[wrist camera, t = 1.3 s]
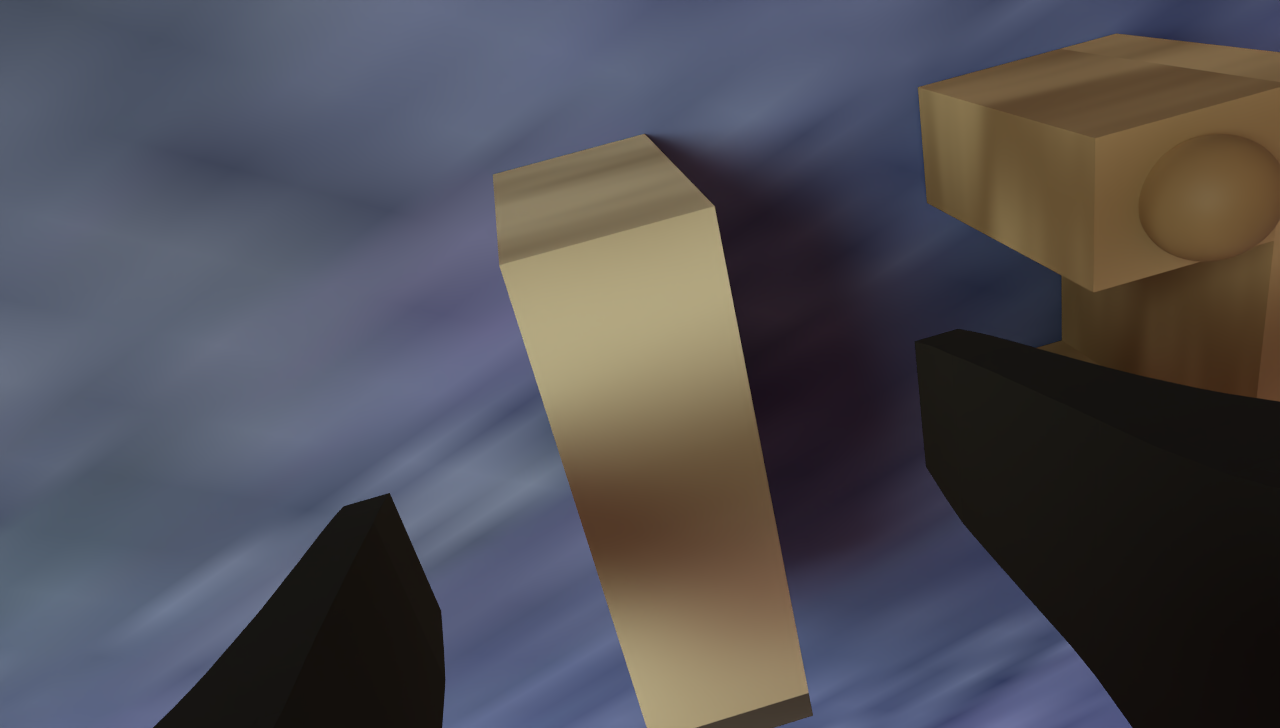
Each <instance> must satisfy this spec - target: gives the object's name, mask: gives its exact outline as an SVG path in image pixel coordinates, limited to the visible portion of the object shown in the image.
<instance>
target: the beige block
mask: <svg viewBox="0 0 1280 728" xmlns="http://www.w3.org/2000/svg"><path fill="white" fill-rule="evenodd" d="M493 183H494V197H495V211H496V225H497V239H498V253H499V266H500V269H501V272H502V275H503V278H504V281H505V284H506V287H507V291H508V294H509V297H510V300H511V303H512V306H513V309H514V313H515V316H516V319H517V322H518V325H519V328H520V331H521V334H522V338H523V341H524V344H525V347H526V350H527V353H528V356H529V360H530V363H531V366H532V369H533V372H534V375H535V378H536V381H537V385H538V388H539V391H540V394H541V397H542V400H543V403H544V407H545V410H546V413H547V416H548V419H549V422H550V425H551V428H552V432H553V435H554V438H555V441H556V444H557V447H558V450H559V454H560V457H561V460H562V463H563V466H564V469H565V472H566V475H567V479H568V482H569V485H570V488H571V491H572V494H573V497H574V501H575V504H576V507H577V510H578V513H579V516H580V519H581V522H582V526H583V529H584V532H585V535H586V538H587V541H588V544H589V548H590V551H591V554H592V557H593V560H594V563H595V566H596V569H597V573H598V576H599V579H600V582H601V585H602V588H603V591H604V595H605V598H606V601H607V604H608V607H609V610H610V613H611V616H612V620H613V623H614V626H615V629H616V632H617V635H618V638H619V642H620V645H621V648H622V651H623V654H624V657H625V660H626V663H627V667H628V670H629V673H630V676H631V679H632V682H633V685H634V689H635V692H636V695H637V698H638V701H639V704H640V707H641V710H642V714H643V717H644V720H645V723H646V726H647V728H774V727H777V726H781V725H784V724H787V723H790V722H794V721H797V720H800V719H803V718H807V717H810V716H813V713H812V708H811V703H810V698H809V693H808V688H807V682H806V677H805V672H804V667H803V662H802V656H801V651H800V646H799V641H798V636H797V631H796V625H795V620H794V615H793V610H792V605H791V599H790V594H789V589H788V584H787V579H786V574H785V568H784V563H783V558H782V553H781V548H780V542H779V537H778V532H777V527H776V522H775V517H774V511H773V506H772V501H771V496H770V491H769V485H768V480H767V475H766V470H765V465H764V460H763V454H762V449H761V444H760V439H759V434H758V429H757V423H756V418H755V413H754V408H753V403H752V397H751V392H750V387H749V382H748V377H747V372H746V366H745V361H744V356H743V351H742V346H741V340H740V335H739V330H738V325H737V320H736V315H735V309H734V304H733V299H732V294H731V289H730V283H729V278H728V273H727V268H726V263H725V258H724V252H723V247H722V242H721V237H720V232H719V226H718V221H717V216H716V211H715V206H714V205H713V204H712V203H711V202H710V201H709V200H708V199H707V198H706V197H705V196H704V195H703V194H702V193H701V192H700V191H699V190H698V188H697V187H696V186H695V185H694V184H693V183H692V182H691V181H690V180H689V179H688V178H687V177H686V176H685V175H684V174H683V173H682V172H681V171H680V170H679V169H678V168H677V167H676V166H675V165H674V164H673V163H672V162H671V161H670V160H669V159H668V158H667V157H666V155H665V154H664V153H663V152H662V151H661V150H660V149H659V148H658V147H657V146H656V145H655V144H654V143H653V142H652V141H651V140H650V139H649V138H648V137H647V136H646V135H645V134H642V135H638V136H635V137H631V138H627V139H624V140H620V141H616V142H612V143H609V144H605V145H601V146H598V147H594V148H590V149H586V150H583V151H579V152H575V153H571V154H568V155H564V156H560V157H557V158H553V159H549V160H545V161H542V162H538V163H534V164H531V165H527V166H523V167H519V168H516V169H512V170H508V171H505V172H501V173H497V174H493Z"/></svg>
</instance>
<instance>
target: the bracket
mask: <svg viewBox="0 0 1280 728" xmlns="http://www.w3.org/2000/svg"><path fill="white" fill-rule="evenodd" d="M918 93H919V106H920V119H921V131H922V144H923V157H924V170H925V183H926V196H927V203H928V204H930V205H932V206H934V207H936V208H938V209H939V210H941V211H943V212H945V213H947V214H949V215H951V216H952V217H954V218H956V219H958V220H960V221H962V222H964V223H965V224H967V225H969V226H971V227H973V228H975V229H977V230H978V231H980V232H982V233H984V234H986V235H988V236H989V237H991V238H993V239H995V240H997V241H999V242H1001V243H1002V244H1004V245H1006V246H1008V247H1010V248H1012V249H1014V250H1015V251H1017V252H1019V253H1021V254H1023V255H1025V256H1027V257H1028V258H1030V259H1032V260H1034V261H1036V262H1038V263H1040V264H1041V265H1043V266H1045V267H1047V268H1049V269H1051V270H1053V271H1054V272H1056V273H1058V274H1060V275H1061V277H1062V341H1058V342H1055V343H1051V344H1048V345H1044V346H1041V347H1037V348H1038V349H1042V350H1045V351H1049V352H1052V353H1056V354H1060V355H1063V356H1067V357H1070V358H1074V359H1078V360H1082V361H1085V362H1089V363H1093V364H1097V365H1100V366H1104V367H1108V368H1112V369H1116V370H1120V371H1124V372H1128V373H1132V374H1136V375H1140V376H1145V377H1150V378H1154V379H1159V380H1163V381H1168V382H1172V383H1177V384H1181V385H1186V386H1191V387H1195V388H1200V389H1206V390H1211V391H1217V392H1222V393H1228V394H1234V395H1241V396H1247V397H1254V398H1260V399H1267V400H1273V401H1280V52H1272V51H1263V50H1255V49H1246V48H1237V47H1228V46H1220V45H1211V44H1202V43H1193V42H1185V41H1176V40H1167V39H1158V38H1150V37H1141V36H1132V35H1123V34H1113V35H1110V36H1106V37H1102V38H1098V39H1095V40H1091V41H1087V42H1084V43H1080V44H1076V45H1073V46H1069V47H1065V48H1061V49H1058V50H1054V51H1050V52H1047V53H1043V54H1039V55H1036V56H1032V57H1028V58H1025V59H1021V60H1017V61H1013V62H1010V63H1006V64H1002V65H999V66H995V67H991V68H988V69H984V70H980V71H976V72H973V73H969V74H965V75H962V76H958V77H954V78H951V79H947V80H943V81H939V82H936V83H932V84H928V85H925V86H921V87H918Z"/></svg>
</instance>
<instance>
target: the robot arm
mask: <svg viewBox="0 0 1280 728" xmlns="http://www.w3.org/2000/svg"><path fill="white" fill-rule="evenodd" d="M915 350H916V361H917V373H918V384H919V395H920V406H921V417H922V428H923V439H924V450H925V461H926V467H927V469H928V471H929V472H930V474H931V475H932V477H933V478H934V480H935V482H936V483H937V485H938V486H939V488H940V489H941V491H942V493H943V494H944V496H945V497H946V499H947V500H948V502H949V503H950V505H951V506H952V508H953V509H954V511H955V512H956V514H957V515H958V517H959V518H960V519H961V521H962V522H963V524H964V525H965V526H966V527H967V528H968V530H969V531H970V532H971V533H972V534H973V536H974V537H975V538H976V539H977V540H978V541H979V542H980V544H981V545H982V546H983V547H984V548H985V549H986V550H987V552H988V553H989V554H990V555H991V556H992V557H993V558H994V560H995V561H996V562H997V563H998V564H999V565H1000V566H1001V568H1002V569H1003V570H1004V571H1005V572H1006V573H1007V574H1008V575H1009V577H1010V578H1011V579H1012V580H1013V581H1014V582H1015V583H1016V584H1017V586H1018V587H1019V588H1020V589H1021V590H1022V591H1023V592H1024V593H1025V595H1026V596H1027V597H1028V598H1029V599H1030V600H1031V601H1032V602H1033V604H1034V605H1035V606H1036V607H1037V608H1038V609H1039V610H1040V611H1041V613H1042V614H1043V615H1044V616H1045V617H1046V618H1047V619H1048V620H1049V622H1050V623H1051V624H1052V625H1053V626H1054V627H1055V628H1056V629H1057V630H1058V632H1059V633H1060V634H1061V635H1062V636H1063V637H1064V638H1065V639H1066V641H1067V642H1068V643H1069V644H1070V645H1071V646H1072V648H1073V649H1074V650H1075V651H1076V652H1077V654H1078V655H1079V656H1080V657H1081V659H1082V660H1083V661H1084V662H1085V664H1086V665H1087V666H1088V667H1089V668H1090V670H1091V671H1092V672H1093V673H1094V675H1095V676H1096V677H1097V679H1098V680H1099V681H1100V683H1101V684H1102V686H1103V687H1104V688H1105V690H1106V691H1107V693H1108V694H1109V695H1110V697H1111V698H1112V700H1113V701H1114V702H1115V704H1116V705H1117V707H1118V708H1119V709H1120V711H1121V712H1122V713H1123V715H1124V716H1125V718H1126V719H1127V720H1128V722H1129V723H1130V725H1131V726H1132V727H1133V728H1280V401H1273V400H1267V399H1260V398H1254V397H1247V396H1241V395H1234V394H1228V393H1222V392H1217V391H1211V390H1206V389H1200V388H1195V387H1191V386H1186V385H1181V384H1177V383H1172V382H1168V381H1163V380H1159V379H1154V378H1150V377H1145V376H1140V375H1136V374H1132V373H1128V372H1124V371H1120V370H1116V369H1112V368H1108V367H1104V366H1100V365H1097V364H1093V363H1089V362H1085V361H1082V360H1078V359H1074V358H1070V357H1067V356H1063V355H1060V354H1056V353H1052V352H1049V351H1045V350H1042V349H1038V348H1034V347H1031V346H1027V345H1024V344H1020V343H1016V342H1013V341H1009V340H1005V339H1001V338H998V337H994V336H990V335H986V334H981V333H977V332H972V331H967V330H961V329H956V330H953V331H949V332H946V333H942V334H939V335H935V336H932V337H928V338H925V339H921V340H918V341H915ZM444 693H445V663H444V645H443V631H442V617H441V610H440V607H439V605H438V603H437V600H436V598H435V596H434V594H433V591H432V589H431V587H430V584H429V582H428V580H427V578H426V575H425V573H424V571H423V568H422V566H421V564H420V562H419V559H418V557H417V555H416V552H415V550H414V548H413V546H412V543H411V541H410V539H409V536H408V534H407V532H406V530H405V527H404V525H403V523H402V520H401V518H400V516H399V513H398V511H397V509H396V507H395V504H394V502H393V500H392V497H391V495H390V493H388V494H385V495H381V496H378V497H374V498H371V499H367V500H364V501H360V502H357V503H354V504H350V505H347V506H344V507H343V508H342V509H341V510H340V511H339V512H338V513H337V514H336V515H335V516H334V518H333V519H332V520H331V521H330V522H329V524H328V525H327V526H326V527H325V529H324V530H323V531H322V532H321V534H320V535H319V536H318V538H317V539H316V540H315V541H314V543H313V544H312V545H311V547H310V548H309V549H308V550H307V552H306V553H305V554H304V556H303V557H302V558H301V560H300V561H299V562H298V563H297V565H296V566H295V567H294V569H293V570H292V571H291V572H290V574H289V575H288V576H287V577H286V579H285V580H284V581H283V582H282V584H281V585H280V586H279V588H278V589H277V590H276V591H275V593H274V594H273V595H272V596H271V598H270V599H269V600H268V601H267V603H266V604H265V605H264V607H263V608H262V609H261V610H260V611H259V613H258V614H257V615H256V616H255V617H254V619H253V620H252V621H251V622H250V623H249V624H248V625H247V627H246V628H245V629H244V630H243V631H242V632H241V634H240V635H239V636H238V637H237V638H236V639H235V641H234V642H233V643H232V644H231V645H230V646H229V647H228V649H227V650H226V651H225V652H224V653H223V654H222V656H221V657H220V658H219V659H218V660H217V661H216V662H215V664H214V665H213V666H212V667H211V668H210V669H209V671H208V672H207V673H206V674H205V675H204V676H203V677H202V678H201V679H200V680H199V682H198V683H197V684H196V685H195V686H194V687H193V688H192V689H191V690H190V691H189V692H188V693H187V694H186V695H185V696H184V697H183V698H182V699H181V700H180V701H179V703H178V704H177V705H176V706H175V707H174V708H173V709H172V710H171V711H170V712H169V713H168V714H167V715H166V716H165V717H164V718H163V719H161V720H160V721H159V722H158V723H157V724H156V725H155V726H154V727H153V728H442V721H443V707H444Z"/></svg>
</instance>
